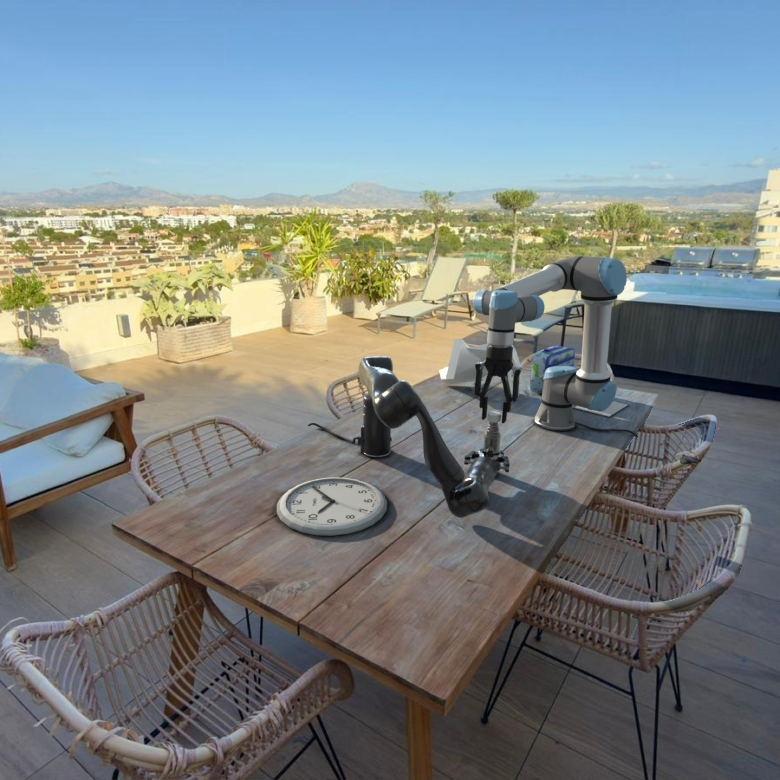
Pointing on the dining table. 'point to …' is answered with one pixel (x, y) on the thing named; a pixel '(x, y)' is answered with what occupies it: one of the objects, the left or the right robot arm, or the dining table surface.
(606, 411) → the invitation card
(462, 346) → the white plastic object
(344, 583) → the dining table surface
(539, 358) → the lunch box
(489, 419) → the cap
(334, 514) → the wall clock
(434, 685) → the dining table surface
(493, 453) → the bottle
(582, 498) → the dining table surface
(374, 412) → the left robot arm
